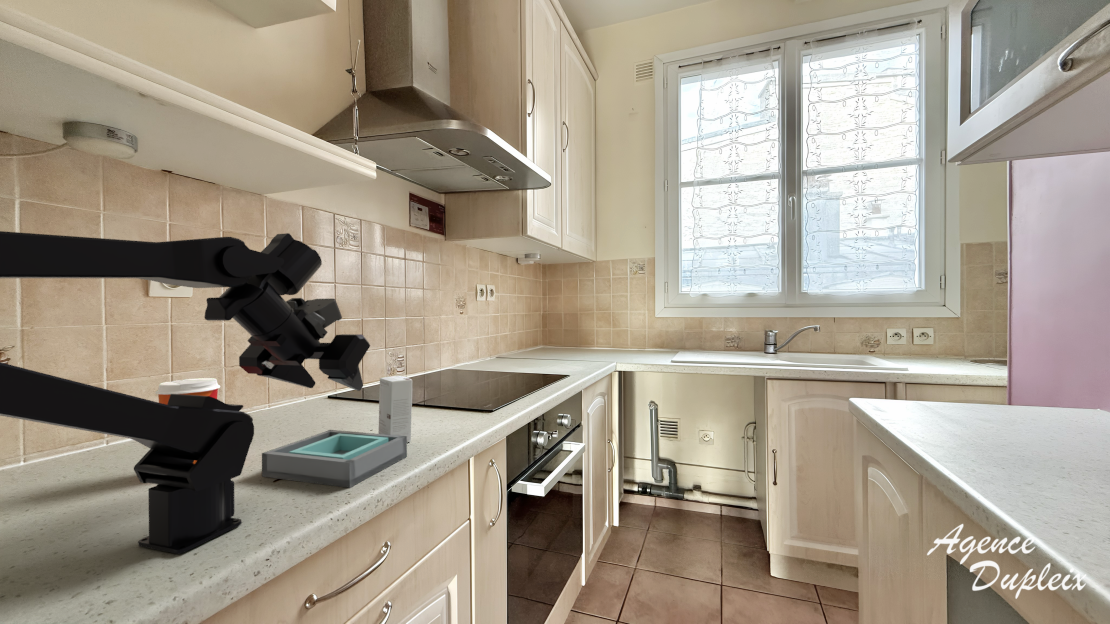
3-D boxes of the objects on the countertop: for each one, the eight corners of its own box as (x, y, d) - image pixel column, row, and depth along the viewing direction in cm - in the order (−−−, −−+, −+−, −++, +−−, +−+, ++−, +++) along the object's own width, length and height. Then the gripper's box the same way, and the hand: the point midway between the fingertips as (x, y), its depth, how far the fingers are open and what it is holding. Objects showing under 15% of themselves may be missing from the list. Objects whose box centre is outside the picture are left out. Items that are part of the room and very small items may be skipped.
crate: (349, 487, 59) (349, 462, 59) (262, 476, 63) (261, 453, 63) (406, 456, 71) (406, 436, 71) (330, 449, 75) (330, 429, 75)
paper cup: (143, 476, 63) (142, 384, 63) (199, 459, 71) (198, 376, 71) (178, 482, 61) (178, 386, 61) (233, 464, 68) (232, 378, 68)
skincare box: (377, 440, 81) (376, 377, 81) (400, 435, 84) (399, 374, 84) (389, 447, 76) (389, 381, 76) (413, 442, 79) (413, 378, 79)
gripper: (359, 277, 58) (409, 348, 69) (256, 280, 63) (317, 346, 74) (313, 337, 51) (377, 407, 61) (201, 336, 56) (278, 400, 67)
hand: (336, 386), depth 66 cm, fingers open, 9 cm apart
